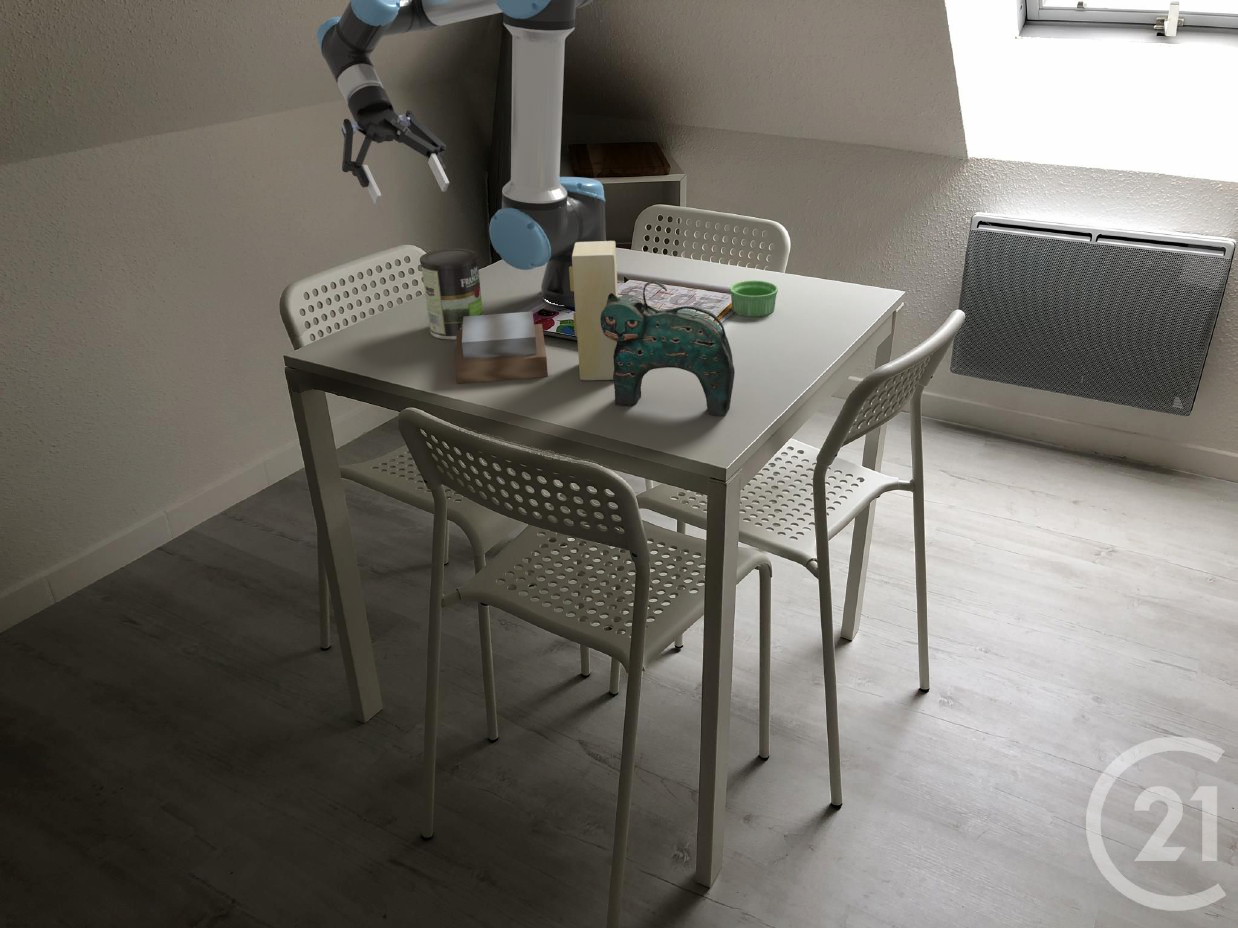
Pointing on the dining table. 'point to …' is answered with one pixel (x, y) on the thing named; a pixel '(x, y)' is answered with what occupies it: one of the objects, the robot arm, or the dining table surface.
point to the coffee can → (451, 289)
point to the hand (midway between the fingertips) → (412, 193)
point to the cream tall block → (593, 306)
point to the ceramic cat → (667, 348)
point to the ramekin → (753, 298)
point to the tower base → (501, 363)
